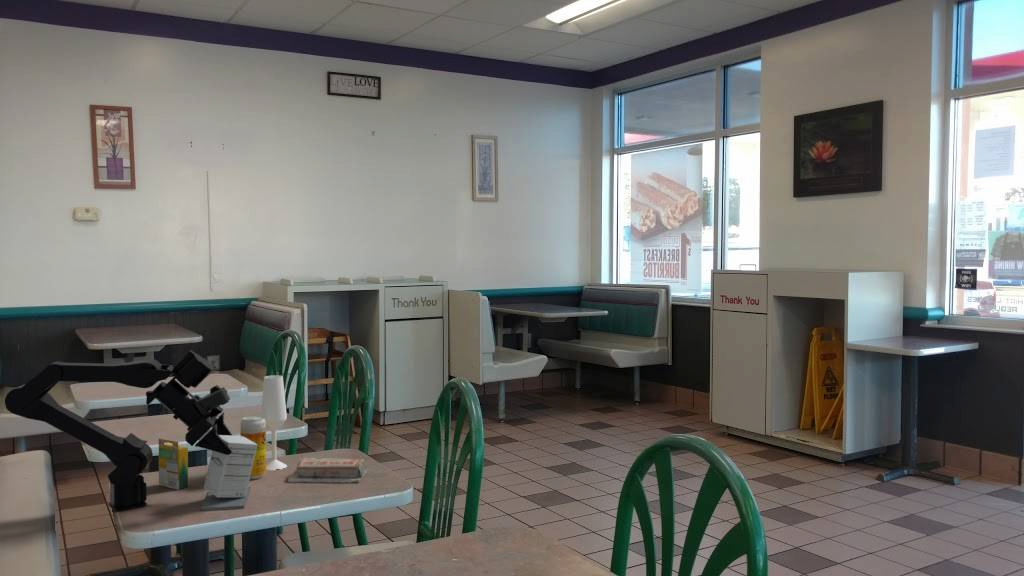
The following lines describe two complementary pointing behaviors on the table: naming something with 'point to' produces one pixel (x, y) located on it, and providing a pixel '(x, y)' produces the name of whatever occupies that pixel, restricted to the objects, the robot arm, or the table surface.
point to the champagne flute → (274, 413)
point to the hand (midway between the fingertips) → (232, 448)
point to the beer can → (256, 433)
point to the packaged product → (329, 470)
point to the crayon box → (173, 465)
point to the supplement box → (231, 468)
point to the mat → (224, 502)
